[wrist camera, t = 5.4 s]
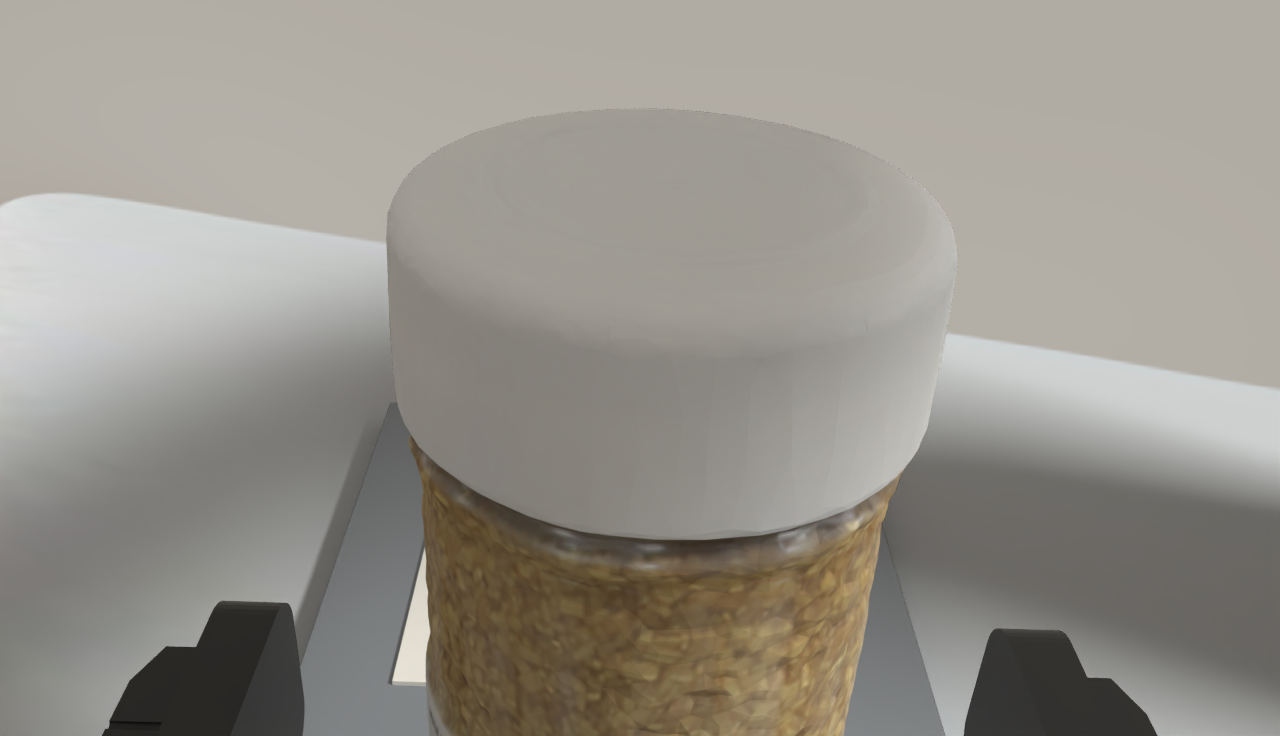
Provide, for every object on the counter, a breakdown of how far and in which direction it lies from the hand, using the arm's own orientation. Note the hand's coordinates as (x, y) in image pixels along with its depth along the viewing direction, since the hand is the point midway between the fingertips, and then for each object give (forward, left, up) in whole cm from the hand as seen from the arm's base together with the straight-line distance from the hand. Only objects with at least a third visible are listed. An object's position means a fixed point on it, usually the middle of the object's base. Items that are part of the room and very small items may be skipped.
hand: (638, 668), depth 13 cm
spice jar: (0, +1, -7) cm, 7 cm away
